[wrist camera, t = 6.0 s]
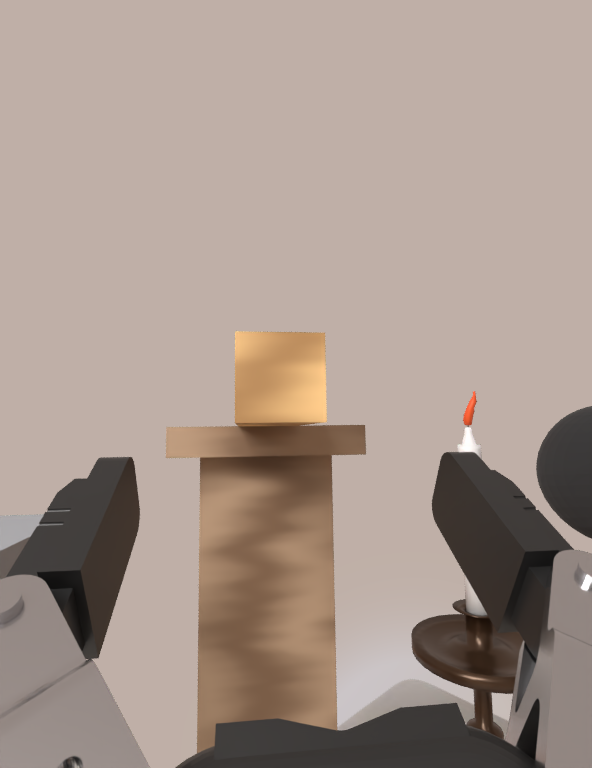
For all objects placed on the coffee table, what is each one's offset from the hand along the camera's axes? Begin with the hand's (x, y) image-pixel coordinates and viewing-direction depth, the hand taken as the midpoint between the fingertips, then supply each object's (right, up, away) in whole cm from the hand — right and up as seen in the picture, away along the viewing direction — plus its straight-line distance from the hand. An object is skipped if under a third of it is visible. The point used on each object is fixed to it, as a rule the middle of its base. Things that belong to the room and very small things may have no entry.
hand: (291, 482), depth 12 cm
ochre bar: (-2, 0, +14) cm, 14 cm away
